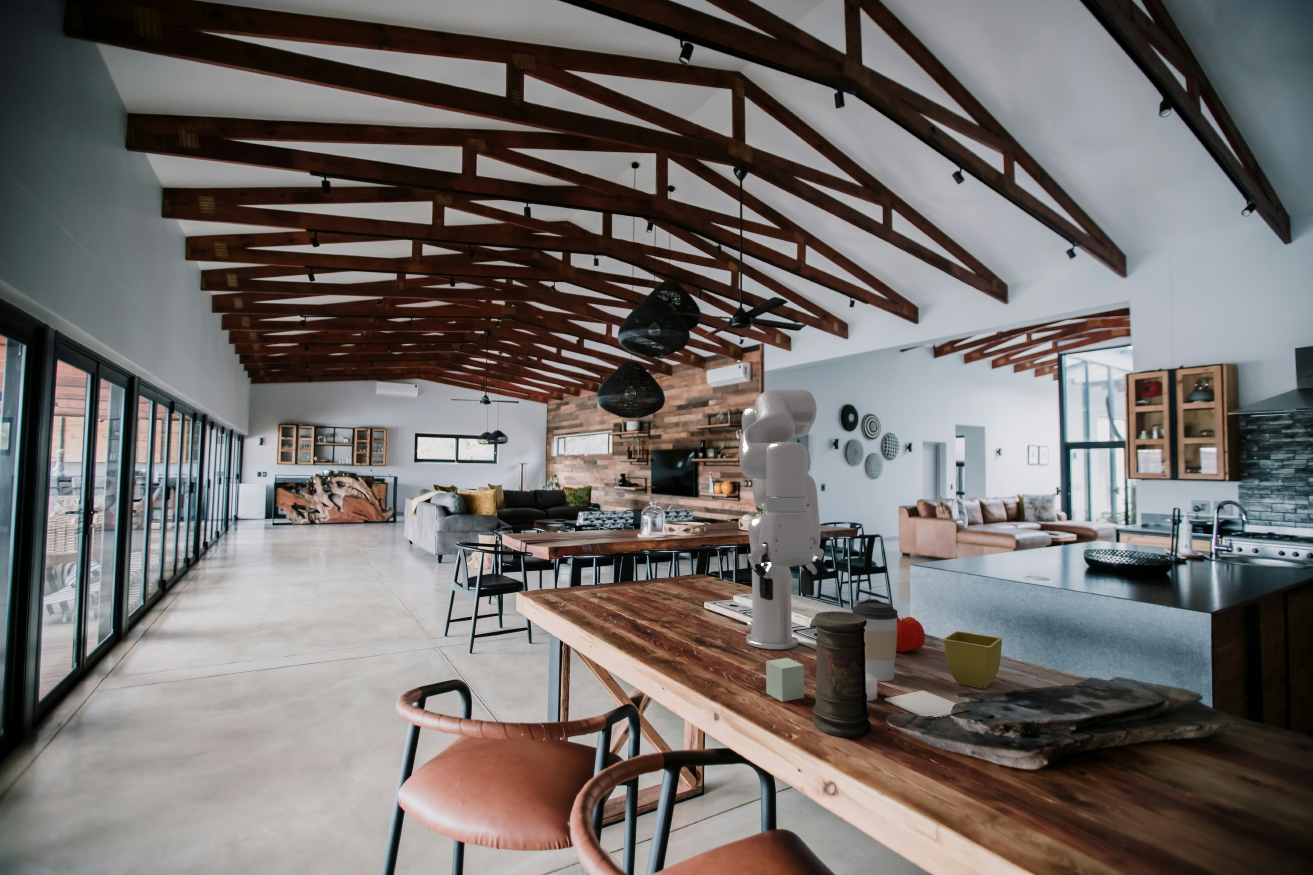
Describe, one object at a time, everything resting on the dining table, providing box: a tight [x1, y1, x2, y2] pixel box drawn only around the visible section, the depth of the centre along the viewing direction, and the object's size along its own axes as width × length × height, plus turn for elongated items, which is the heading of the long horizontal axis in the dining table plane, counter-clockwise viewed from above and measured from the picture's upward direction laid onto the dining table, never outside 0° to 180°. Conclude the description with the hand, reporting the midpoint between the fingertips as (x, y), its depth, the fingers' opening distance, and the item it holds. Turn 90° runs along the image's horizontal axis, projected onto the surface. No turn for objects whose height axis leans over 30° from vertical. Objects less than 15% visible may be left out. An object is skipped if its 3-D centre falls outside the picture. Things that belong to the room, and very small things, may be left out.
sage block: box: [765, 657, 805, 703], centre depth 115 cm, size 5×5×6 cm
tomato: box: [896, 616, 926, 653], centre depth 145 cm, size 9×9×8 cm
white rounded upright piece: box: [866, 673, 878, 702], centre depth 115 cm, size 6×6×4 cm
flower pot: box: [942, 630, 1003, 690], centre depth 122 cm, size 9×9×9 cm
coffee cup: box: [851, 598, 899, 682], centre depth 127 cm, size 9×9×15 cm
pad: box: [884, 690, 957, 718], centre depth 110 cm, size 10×10×1 cm
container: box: [812, 611, 871, 738], centre depth 101 cm, size 9×9×18 cm
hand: (787, 596), depth 116 cm, fingers open, 9 cm apart
